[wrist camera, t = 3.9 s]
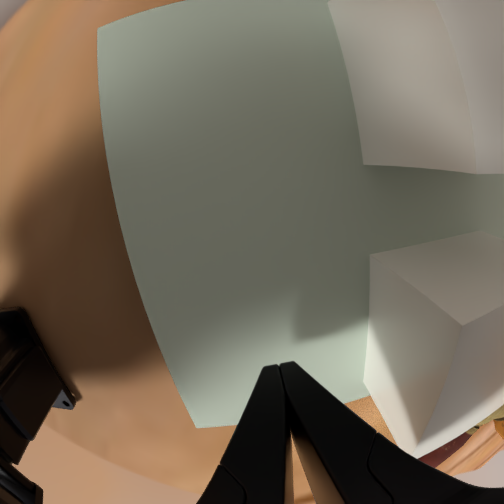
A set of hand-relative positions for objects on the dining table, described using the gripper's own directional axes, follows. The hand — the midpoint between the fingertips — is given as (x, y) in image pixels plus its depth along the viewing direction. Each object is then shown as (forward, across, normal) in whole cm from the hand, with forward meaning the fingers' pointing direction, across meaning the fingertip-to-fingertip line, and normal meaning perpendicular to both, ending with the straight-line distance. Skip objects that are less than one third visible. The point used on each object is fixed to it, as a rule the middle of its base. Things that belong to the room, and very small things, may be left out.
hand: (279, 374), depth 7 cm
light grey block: (+1, -6, -8) cm, 9 cm away
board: (+4, -4, -4) cm, 6 cm away
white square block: (+1, -6, 0) cm, 6 cm away
